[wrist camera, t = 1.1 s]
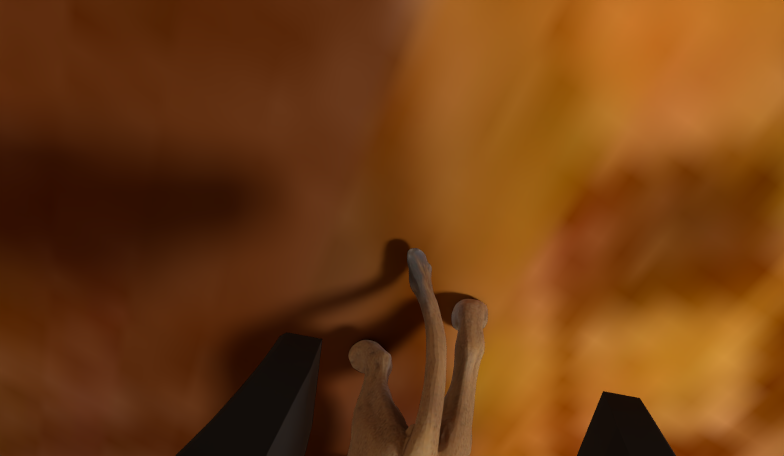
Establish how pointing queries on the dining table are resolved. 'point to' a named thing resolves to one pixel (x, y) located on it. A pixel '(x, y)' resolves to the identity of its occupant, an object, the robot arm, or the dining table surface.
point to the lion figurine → (436, 413)
